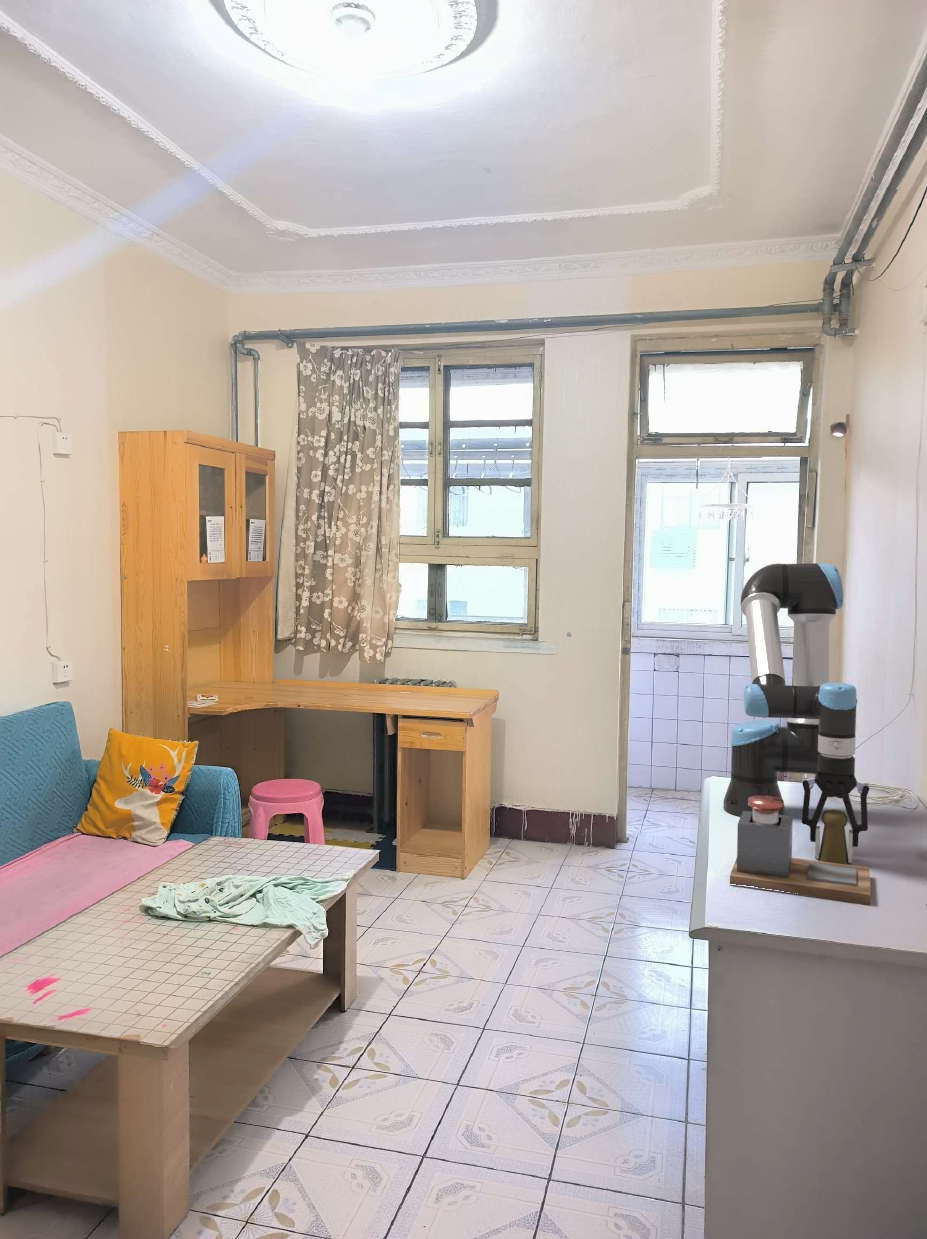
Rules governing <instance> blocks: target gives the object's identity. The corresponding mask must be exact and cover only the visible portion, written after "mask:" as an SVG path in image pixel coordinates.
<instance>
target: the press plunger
mask: <svg viewBox="0 0 927 1239" xmlns="http://www.w3.org/2000/svg"><path fill="white" fill-rule="evenodd" d="M782 799H783V798H782ZM782 799H780V798H777V797H772V796H763V795H758V796H751V797H749V798H748V805H749V806H750V807H752V808H753V815H752V823H760V824H769V825H778V826H779V810H781V809H783V808H784V809H785V801H784V800H782Z"/></svg>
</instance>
